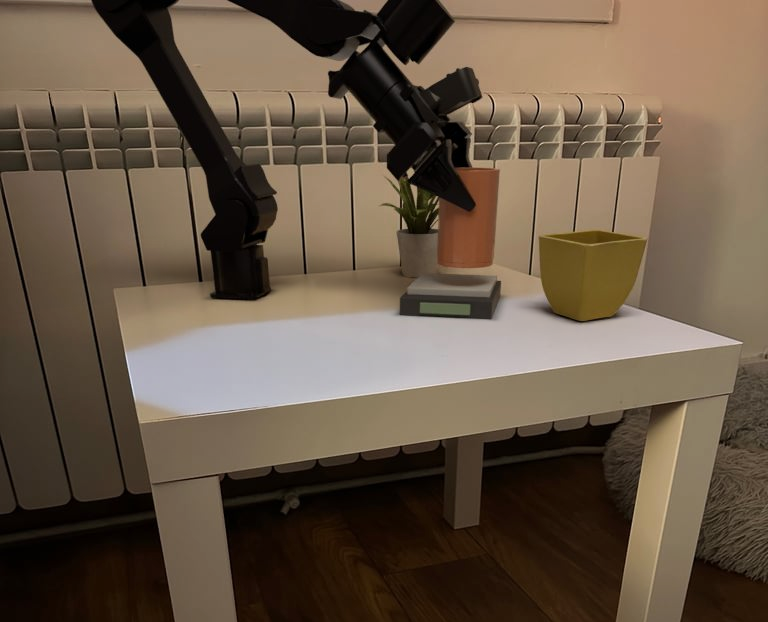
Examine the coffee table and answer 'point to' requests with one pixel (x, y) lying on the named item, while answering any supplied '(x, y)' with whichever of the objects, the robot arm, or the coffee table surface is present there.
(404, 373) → the coffee table surface
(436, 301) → the scale
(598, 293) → the flower pot
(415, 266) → the house plant
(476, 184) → the cup
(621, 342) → the coffee table surface
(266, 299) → the coffee table surface
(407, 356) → the coffee table surface
